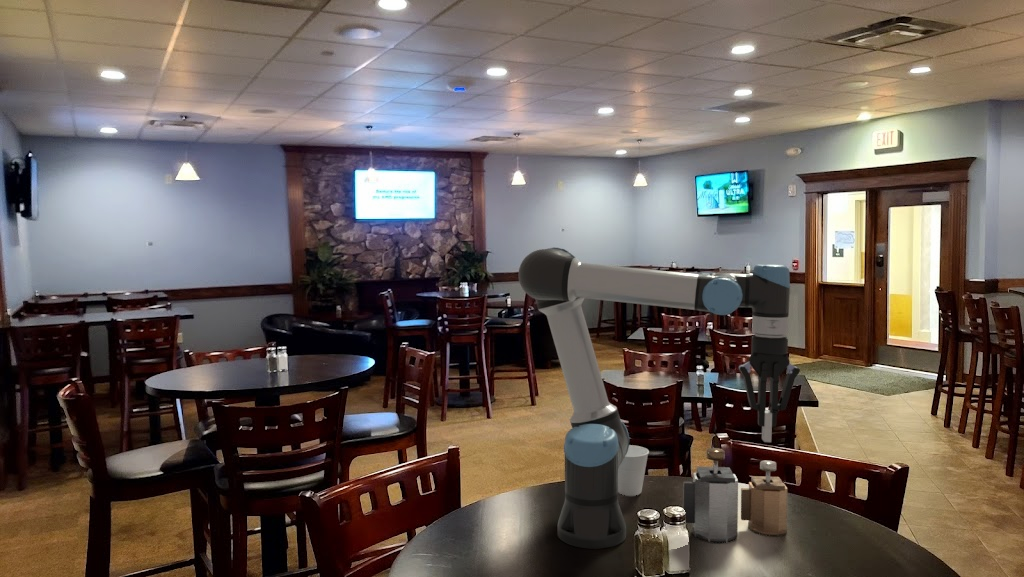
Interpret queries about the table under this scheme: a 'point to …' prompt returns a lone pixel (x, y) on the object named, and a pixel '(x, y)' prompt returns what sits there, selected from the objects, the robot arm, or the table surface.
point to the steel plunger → (715, 458)
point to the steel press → (712, 504)
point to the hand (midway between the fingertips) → (766, 440)
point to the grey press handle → (768, 468)
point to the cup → (632, 471)
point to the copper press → (765, 506)
